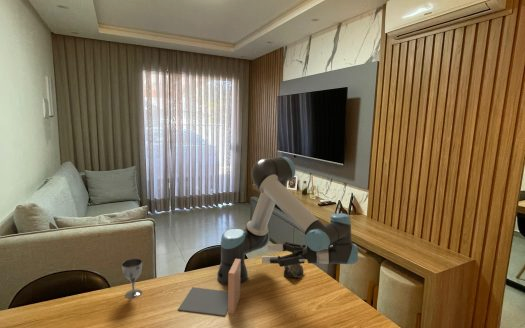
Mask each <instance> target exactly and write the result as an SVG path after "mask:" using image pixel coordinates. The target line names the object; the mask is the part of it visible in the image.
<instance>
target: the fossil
mask: <svg viewBox="0 0 525 328" xmlns="http://www.w3.org/2000/svg"><path fill="white" fill-rule="evenodd" d="M283 267H284V270H283V276H284V277H289V278H291V277H293V278H294V279H301V278H302V277H303V274H304V267H303V265H301V263H300V264H293V265H288V266H283Z"/></svg>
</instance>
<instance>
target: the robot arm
mask: <svg viewBox="0 0 525 328" xmlns="http://www.w3.org/2000/svg"><path fill="white" fill-rule="evenodd" d="M295 175H296V166H295V165H294V162H293V161H292V160H291V159H290V158H289V157H287V156H278V157H269V158H262V159H259V160H257V161H256V162H255V163H254V165H253V166H252V168H251V179H252V182H253V184H254V186H255V187H256V188H257V190H258V191H259V192H260V194H259V197H258V199H257V203H256V206H255V208H254V211H253V215H252V218H251V220H249V221H248V222H247V223H246V226H245V229H241V228H231V229H228V230H226V231H224V232H223V233H222V234H221V239H220V240H221V241H220V264H219V267H218V270H217V277H216V278H217V281H218V282H219V283H222V284H223V285H227V286H228V273H229V271H230V269H231V267H232V265H233V263H234V261H235V259H241V275H240V285H241V284H242V283H244V282H246V281H247V279H248V274H249V273H248V269H247V266H246V263H245V255H247V254H249V253H252V252H255V251H258V250H260V249H262V248H264V247H265V246H267V250H268V252H272V251H273V252H279V251H280V252H286V251H287V252H289V253H290V254H286V255H283V256H280V255H262V256H261V264H265V265H267V264H269V265H270V264H271V265H273V264H276V265H278V266H279V267H282V268H283V267H284V266H288V265H293V264H300V265H301V264H305V263H306V261H307V264H314V265H315V264H324V265H327V264H330V265H331V264H332V265H335V264H339V265H353V264H358V262H359V252H358V245H357V244H355V243H353V241H352V224H351V217H350V215H348V214H346V213H340V212H339V213H333V214H331V216H330V221H329V223H326V224H323V222H322V221H320V219H318V217H316V215H314V214H313V213H312V212H311V211H310V210H309V209H308V208H307V207H306V206H305V205H304V204H303V203H302V202H301V201H300V200H299V199H298V198H297V197H296V196H295V195H294V194H293V193H292V192H291V191H290V190H289V189H288V188H287V187H286V186H287V183H288V181H289V182H290V181H291V180H293V179H294V178H295ZM275 206H277V207H278V208H279V209H280V210H281V211H282V212H283V213H284V214H285V215H286V216H287V217H288V219H289V220H291V221H292V223H294V225H295V226H297V228H298V229H299V230H300V231H301V232H302V233H303V234H304V235H305V236H304V237H305V243H306V244H301V243H294V242H288V241H286V242H284V243H269V242H270V237H271V236H270V231H269V228H268V224H269V222H270V219H271V216H272V215H273V212H274V209H275ZM305 260H306V261H305Z"/></svg>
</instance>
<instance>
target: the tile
mask: <svg viewBox="0 0 525 328" xmlns="http://www.w3.org/2000/svg"><path fill="white" fill-rule="evenodd" d="M240 275H241V259H235V261H234V263H233V265H232V267H231V269H230V271H229V273H228V285H227V286H228V287H227V291H228V310H227V314H229V315H234V314H235V311H236V309H237V306H238V303H239V300H240V299H241V284H240Z"/></svg>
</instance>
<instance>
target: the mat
mask: <svg viewBox="0 0 525 328" xmlns="http://www.w3.org/2000/svg"><path fill="white" fill-rule="evenodd" d="M177 311H180V312H187V313H196V314H204V315H211V316H219V317H220V316H221V317H225V316H226V315H227V313H228V290H219V289H213V288H212V289H211V288H203V287H194V286H193V287H191V289H190V290H189V292H188V293H187V295H186V296H185V297H184V299H183V301H182V302H181V303H180V306H179V307H178V308H177Z"/></svg>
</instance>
